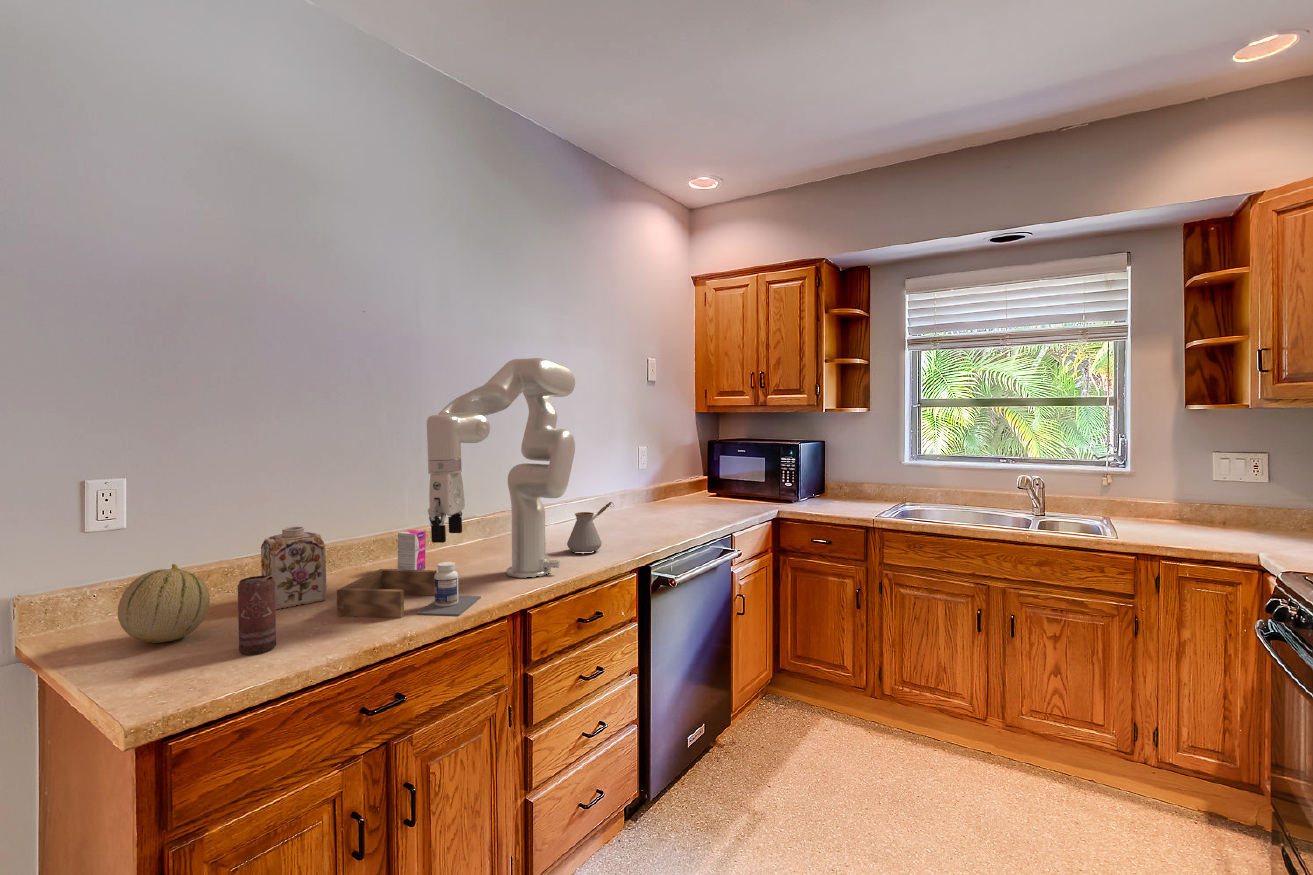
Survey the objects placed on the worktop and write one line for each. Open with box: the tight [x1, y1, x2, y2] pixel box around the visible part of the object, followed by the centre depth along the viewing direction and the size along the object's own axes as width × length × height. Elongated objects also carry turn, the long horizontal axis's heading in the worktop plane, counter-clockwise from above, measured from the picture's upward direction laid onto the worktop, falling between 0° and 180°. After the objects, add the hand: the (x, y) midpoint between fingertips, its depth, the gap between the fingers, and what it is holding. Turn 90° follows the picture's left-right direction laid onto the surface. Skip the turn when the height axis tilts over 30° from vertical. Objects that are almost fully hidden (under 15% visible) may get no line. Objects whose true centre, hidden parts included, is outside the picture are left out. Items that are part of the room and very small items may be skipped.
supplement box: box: [397, 529, 427, 570], centre depth 184 cm, size 6×6×12 cm
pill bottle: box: [434, 561, 459, 607], centre depth 150 cm, size 5×5×10 cm
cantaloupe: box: [117, 563, 211, 644], centre depth 127 cm, size 15×15×15 cm
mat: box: [416, 595, 482, 617], centre depth 150 cm, size 10×14×1 cm
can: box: [237, 575, 277, 656], centre depth 122 cm, size 6×6×14 cm
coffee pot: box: [566, 501, 615, 552], centre depth 213 cm, size 21×12×15 cm, turn 148°
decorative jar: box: [260, 525, 327, 611], centre depth 154 cm, size 12×12×18 cm
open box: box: [336, 568, 438, 619], centre depth 152 cm, size 15×19×6 cm
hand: (447, 537), depth 151 cm, fingers open, 9 cm apart
